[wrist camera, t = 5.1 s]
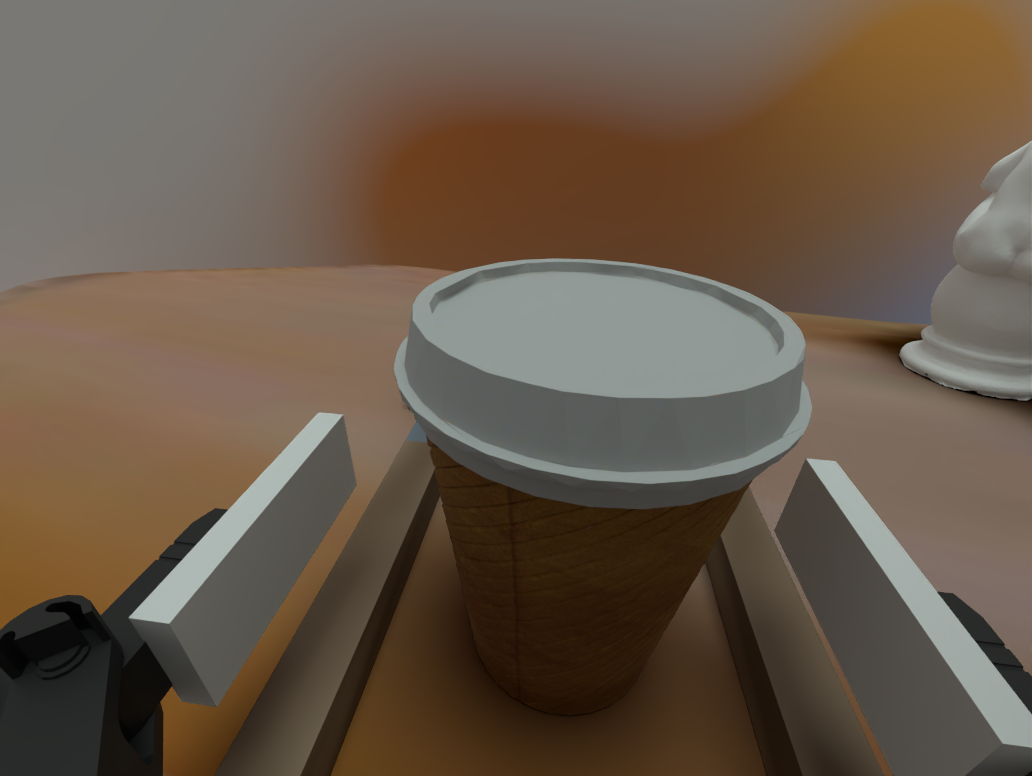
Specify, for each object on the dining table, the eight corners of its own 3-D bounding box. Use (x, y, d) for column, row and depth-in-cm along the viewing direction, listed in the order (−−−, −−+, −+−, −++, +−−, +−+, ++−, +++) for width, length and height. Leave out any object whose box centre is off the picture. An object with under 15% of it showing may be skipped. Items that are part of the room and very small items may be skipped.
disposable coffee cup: (568, 493, 22) (597, 243, 16) (752, 651, 16) (912, 329, 10) (382, 591, 17) (327, 282, 11) (538, 882, 11) (600, 511, 5)
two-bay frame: (701, 366, 35) (707, 342, 34) (1088, 1130, 8) (1170, 1123, 7) (448, 345, 37) (447, 322, 36) (94, 910, 10) (51, 881, 9)
